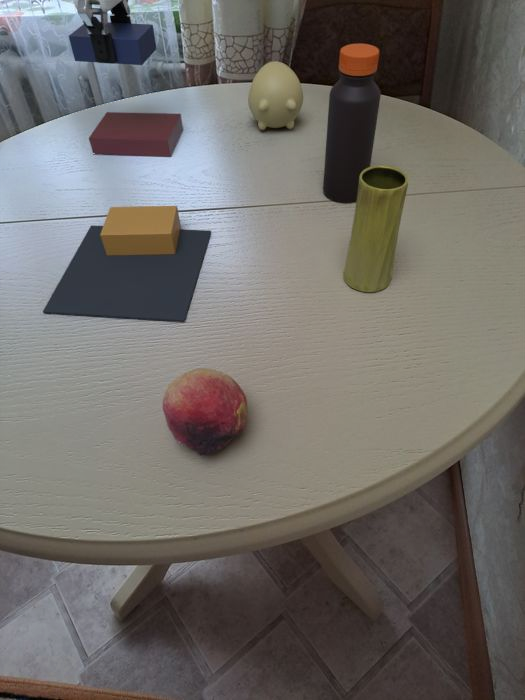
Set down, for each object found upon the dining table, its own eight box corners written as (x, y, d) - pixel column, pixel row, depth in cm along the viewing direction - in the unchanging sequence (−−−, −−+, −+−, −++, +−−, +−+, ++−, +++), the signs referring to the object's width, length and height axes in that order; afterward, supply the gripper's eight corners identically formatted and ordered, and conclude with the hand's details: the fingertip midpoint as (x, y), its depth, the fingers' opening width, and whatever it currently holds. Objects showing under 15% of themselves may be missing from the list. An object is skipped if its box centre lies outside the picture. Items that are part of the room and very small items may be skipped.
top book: (106, 255, 69) (99, 234, 66) (116, 227, 73) (110, 206, 70) (175, 254, 68) (171, 233, 66) (181, 225, 73) (177, 205, 70)
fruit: (244, 397, 53) (239, 347, 47) (254, 461, 48) (250, 415, 42) (171, 407, 52) (156, 359, 46) (173, 473, 47) (158, 429, 41)
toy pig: (299, 141, 96) (298, 85, 96) (306, 112, 84) (305, 49, 84) (248, 141, 96) (247, 85, 96) (248, 113, 84) (247, 49, 84)
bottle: (373, 200, 76) (395, 56, 61) (330, 207, 75) (343, 63, 60) (357, 177, 81) (375, 38, 65) (317, 183, 80) (325, 43, 65)
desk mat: (43, 313, 62) (42, 311, 62) (91, 227, 74) (91, 225, 74) (184, 322, 61) (184, 320, 60) (211, 232, 72) (211, 230, 72)
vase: (390, 295, 63) (413, 194, 52) (341, 291, 63) (354, 190, 52) (390, 264, 66) (411, 164, 56) (344, 260, 67) (356, 161, 56)
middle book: (75, 61, 78) (68, 35, 75) (93, 45, 82) (87, 20, 80) (142, 65, 76) (137, 39, 74) (156, 48, 81) (153, 24, 78)
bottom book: (93, 154, 88) (88, 138, 86) (111, 127, 95) (106, 111, 92) (170, 157, 87) (167, 140, 84) (183, 129, 93) (180, 113, 91)
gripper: (85, -106, 72) (114, 33, 85) (27, -84, 61) (70, 73, 74) (134, -106, 71) (156, 36, 84) (84, -83, 60) (118, 76, 73)
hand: (116, 52), depth 79 cm, fingers closed on middle book, 7 cm apart
